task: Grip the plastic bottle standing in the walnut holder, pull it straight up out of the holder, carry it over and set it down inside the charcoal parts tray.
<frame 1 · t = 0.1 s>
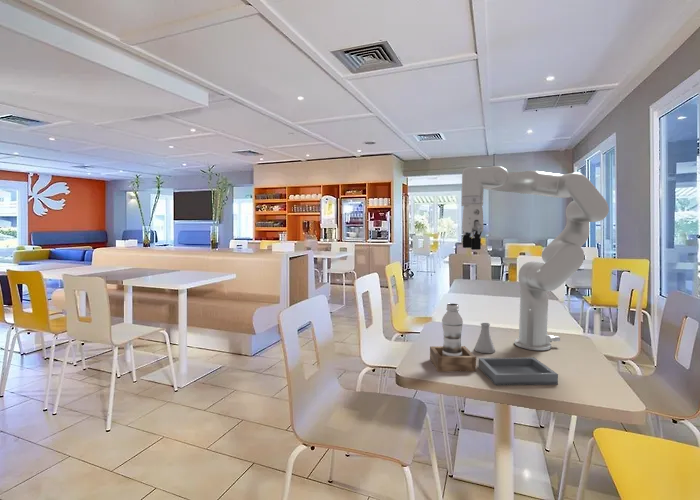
hand: (471, 248, 144), 37 cm above the table, tool pointing down, fingers open, 9 cm apart
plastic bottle: (451, 365, 128), resting in holder
holder: (451, 365, 128), on the table
parts tray: (515, 375, 119), on the table
flask: (484, 351, 142), on the table
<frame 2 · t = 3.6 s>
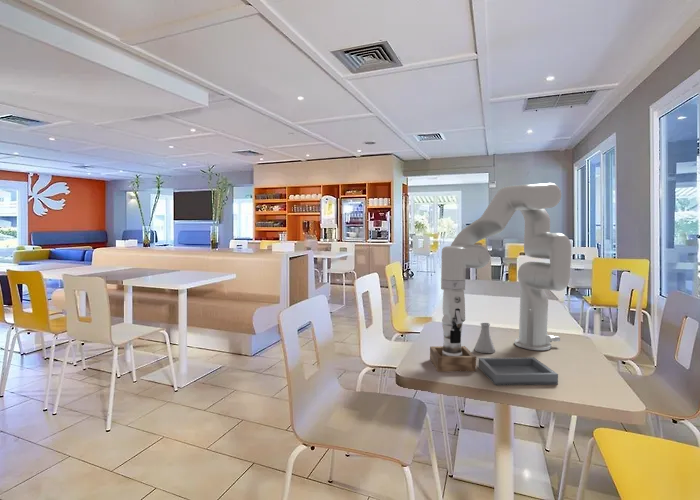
hand: (452, 339, 127), 9 cm above the table, tool pointing down, fingers closed on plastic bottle, 6 cm apart
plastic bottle: (451, 365, 128), resting in holder, touching gripper
everything else where it was.
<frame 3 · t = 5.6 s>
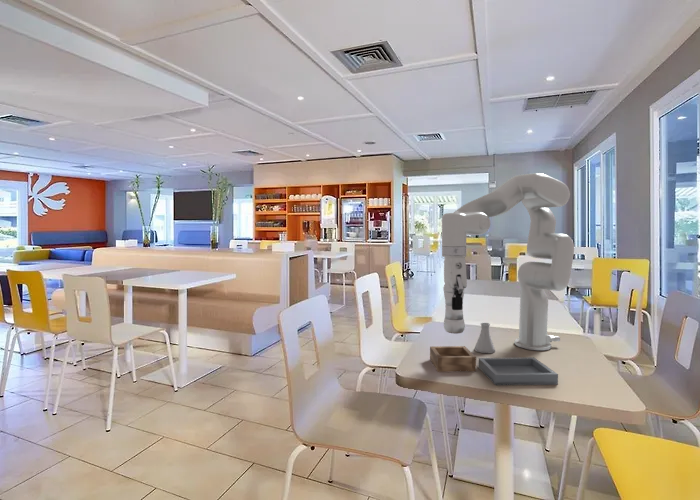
hand: (454, 306, 127), 19 cm above the table, tool pointing down, fingers closed on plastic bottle, 6 cm apart
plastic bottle: (454, 333, 127), point 10 cm above the table, touching gripper
everything else where it was.
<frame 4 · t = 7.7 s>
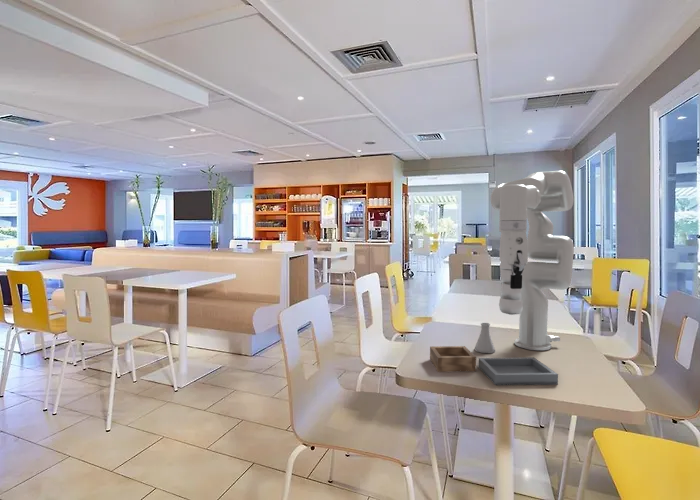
hand: (511, 286, 118), 27 cm above the table, tool pointing down, fingers closed on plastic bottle, 6 cm apart
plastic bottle: (510, 314, 119), point 18 cm above the table, touching gripper
everything else where it was.
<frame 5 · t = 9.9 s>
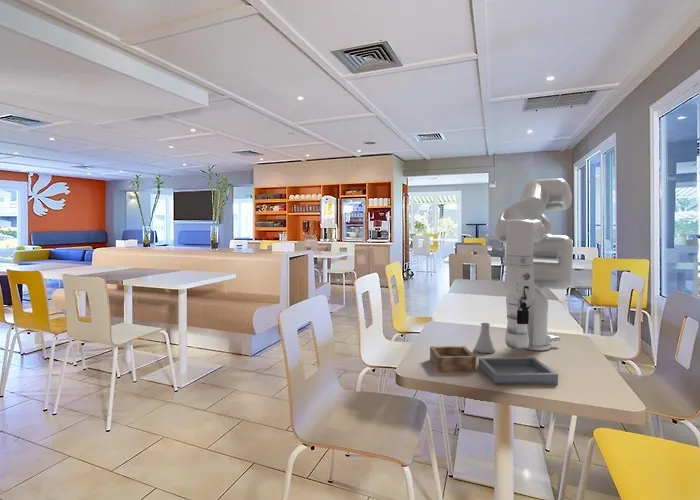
hand: (517, 320, 118), 17 cm above the table, tool pointing down, fingers closed on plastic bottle, 6 cm apart
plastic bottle: (516, 349, 118), point 8 cm above the table, touching gripper
everything else where it was.
when the fingers open (11 cm above the table, at t = 11.6 s): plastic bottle drops 1 cm, resting on parts tray.
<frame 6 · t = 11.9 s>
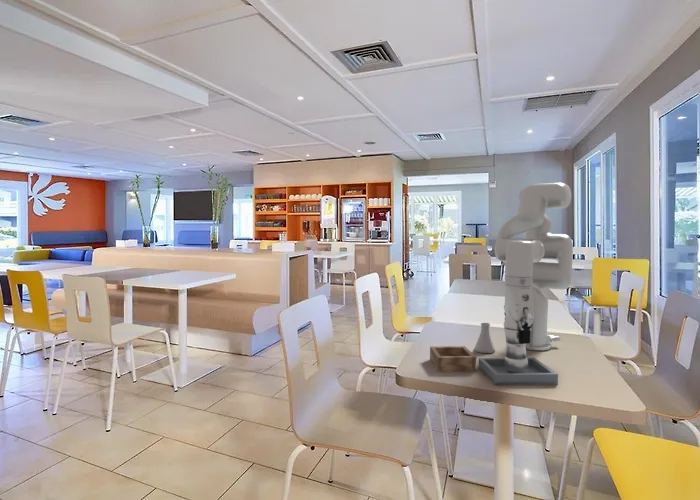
hand: (516, 338, 118), 11 cm above the table, tool pointing down, fingers open, 8 cm apart
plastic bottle: (516, 373, 119), point 1 cm above the table, touching parts tray
everything else where it was.
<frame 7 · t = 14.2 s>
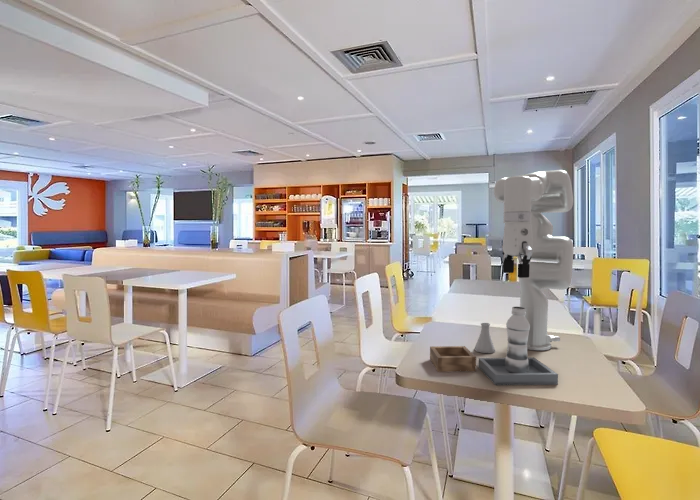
hand: (515, 275, 119), 31 cm above the table, tool pointing down, fingers open, 9 cm apart
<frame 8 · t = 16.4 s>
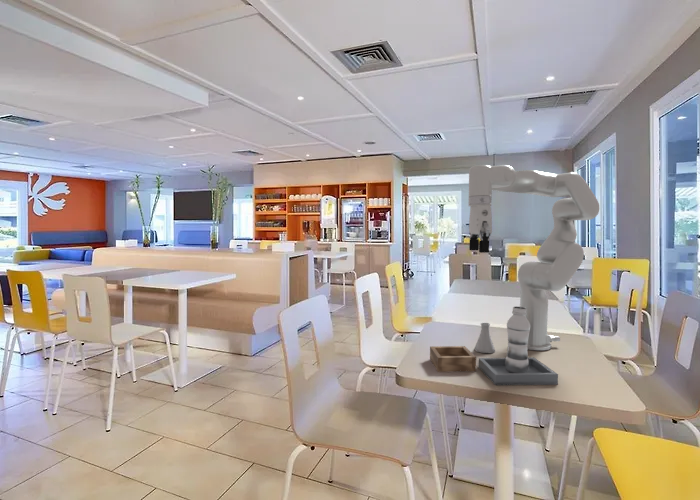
hand: (478, 251, 136), 36 cm above the table, tool pointing down, fingers open, 9 cm apart
nothing on the table moved.
at the end: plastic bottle inside the target area on the parts tray (0.2 cm from its centre), point 0.7 cm above the parts tray's base; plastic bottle moved 19.4 cm from its start; the gripper is holding nothing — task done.
